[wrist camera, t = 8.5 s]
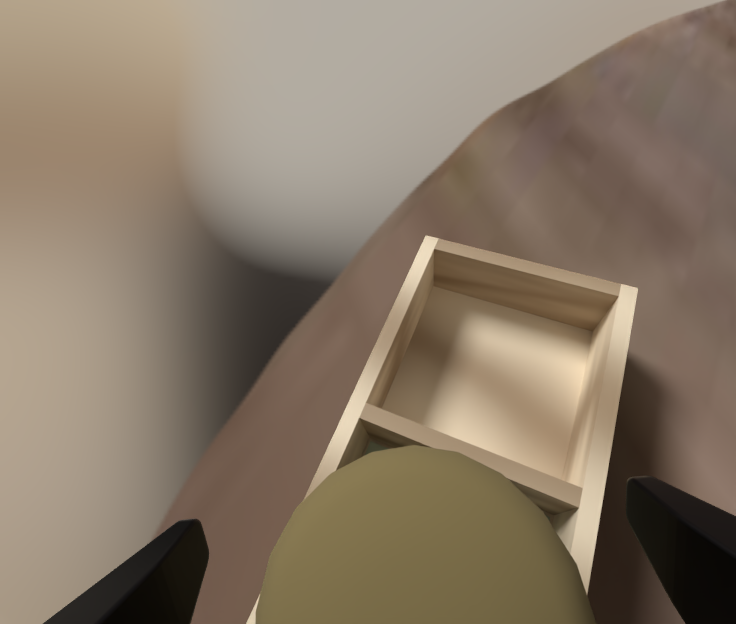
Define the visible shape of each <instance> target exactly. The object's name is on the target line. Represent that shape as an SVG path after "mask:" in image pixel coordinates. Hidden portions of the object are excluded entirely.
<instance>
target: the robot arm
mask: <svg viewBox="0 0 736 624" xmlns="http://www.w3.org/2000/svg"><path fill="white" fill-rule="evenodd" d="M626 515H627V519H628V521H629V524H630V526H631V528H632V530H633V532H634V533H635V535H636V537H637V539H638V541H639V543H640V545H641V546H642V548H643V550H644V552H645V554H646V556H647V557H648V559H649V561H650V563H651V565H652V567H653V569H654V570H655V572H656V574H657V576H658V578H659V580H660V582H661V583H662V585H663V587H664V589H665V591H666V593H667V594H668V596H669V598H670V600H671V601H672V603H673V605H674V606H675V608H676V609H677V611H678V613H679V614H680V616H681V617H682V619H683V620H684V622H685V623H686V624H736V516H734V515H732V514H730V513H728V512H726V511H724V510H721V509H719V508H717V507H715V506H713V505H711V504H709V503H707V502H705V501H703V500H701V499H698V498H696V497H694V496H692V495H690V494H688V493H686V492H684V491H682V490H680V489H678V488H675V487H673V486H671V485H669V484H667V483H665V482H663V481H661V480H659V479H657V478H654V477H652V476H636V477H630V478H629V479H628V480H627V484H626ZM208 559H209V549H208V545H207V541H206V538H205V535H204V531H203V528H202V524H201V522H200V521H199V520H198V519H187V520H180V521H178V522H176V523H175V524H174V525H172V526H171V527H170V528H169V529H167V530H166V531H165V532H163V533H162V534H161V535H159V536H158V537H157V538H155V539H154V540H153V541H151V542H150V543H149V544H147V545H146V546H145V547H144V548H142V549H141V550H140V551H138V552H137V553H136V554H134V555H133V556H132V557H130V558H129V559H128V560H126V561H125V562H124V563H122V564H121V565H120V566H118V567H117V568H116V569H114V570H113V571H112V572H110V573H109V574H108V575H106V576H105V577H104V578H102V579H101V580H100V581H99V582H97V583H96V584H95V585H93V586H92V587H91V588H89V589H88V590H87V591H85V592H84V593H83V594H81V595H80V596H79V597H77V598H76V599H75V600H73V601H72V602H71V603H69V604H68V605H67V606H65V607H64V608H63V609H62V610H60V611H59V612H58V613H56V614H55V615H54V616H52V617H51V618H50V619H48V620H47V621H46V622H44V623H43V624H190V623H191V620H192V616H193V613H194V609H195V606H196V602H197V599H198V595H199V592H200V588H201V585H202V581H203V578H204V574H205V571H206V567H207V564H208Z"/></svg>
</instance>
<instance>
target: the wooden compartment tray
mask: <svg viewBox="0 0 736 624" xmlns="http://www.w3.org/2000/svg"><path fill="white" fill-rule="evenodd" d="M637 291H638V288H635V287H631V286H627V285H623V284H619V283H615V282H611V281H607V280H603V279H599V278H595V277H591V276H587V275H583V274H579V273H575V272H571V271H567V270H563V269H559V268H555V267H551V266H546V265H542V264H538V263H534V262H530V261H526V260H522V259H518V258H514V257H510V256H506V255H502V254H498V253H494V252H490V251H486V250H482V249H478V248H474V247H470V246H466V245H462V244H458V243H454V242H450V241H446V240H442V239H438V238H434V237H430V236H425V238H424V241H423V243H422V245H421V247H420V249H419V251H418V254H417V256H416V258H415V260H414V262H413V264H412V267H411V269H410V271H409V273H408V275H407V277H406V280H405V282H404V284H403V286H402V288H401V290H400V292H399V295H398V297H397V299H396V301H395V303H394V305H393V308H392V310H391V312H390V314H389V316H388V318H387V321H386V323H385V325H384V327H383V329H382V331H381V334H380V336H379V338H378V340H377V342H376V344H375V347H374V349H373V351H372V353H371V355H370V357H369V360H368V362H367V364H366V366H365V368H364V370H363V373H362V375H361V377H360V379H359V381H358V383H357V385H356V388H355V390H354V392H353V394H352V396H351V398H350V401H349V403H348V405H347V407H346V409H345V411H344V414H343V416H342V418H341V420H340V422H339V424H338V427H337V429H336V431H335V433H334V435H333V437H332V440H331V442H330V444H329V446H328V448H327V450H326V453H325V455H324V457H323V459H322V461H321V463H320V465H319V468H318V470H317V472H316V474H315V476H314V478H313V481H312V483H311V485H310V487H309V489H308V491H307V494H306V496H305V498H304V500H305V499H306V498H307V497H308V496H309V495H310V494H311V493H312V492H313V491H314V490H315V489H316V488H317V487H318V486H319V485H320V484H321V483H322V482H323V481H324V480H325V479H326V478H327V477H328V476H329V475H330V474H331V473H333V472H334V471H336V470H338V469H340V468H342V467H344V466H346V465H348V464H350V463H352V462H354V461H355V460H357V459H359V458H361V457H363V456H365V455H367V454H369V453H371V452H375V451H381V450H387V449H393V448H399V447H405V446H411V445H417V446H424V447H430V448H436V449H442V450H449V451H455V452H459V453H461V454H463V455H465V456H467V457H469V458H471V459H473V460H475V461H477V462H479V463H481V464H483V465H485V466H487V467H489V468H491V469H494V470H496V471H498V472H500V473H502V474H503V475H504V476H505V477H506V478H507V479H508V480H509V481H510V482H511V483H513V484H514V485H515V486H516V487H517V488H518V489H519V490H520V491H521V492H522V493H523V494H525V495H526V496H527V497H528V498H529V499H530V500H531V501H532V502H533V503H534V504H535V505H537V506H538V507H539V508H540V509H541V510H542V511H543V512H544V514H545V516H546V517H547V519H548V520H549V522H550V523H551V525H552V526H553V528H554V530H555V531H556V533H557V534H558V536H559V537H560V539H561V540H562V542H563V544H564V545H565V547H566V548H567V550H568V551H569V553H570V554H571V556H572V558H573V559H574V561H575V562H576V564H577V567H578V570H579V573H580V576H581V579H582V582H583V585H584V588H585V591H586V594H587V593H588V587H589V581H590V575H591V569H592V563H593V557H594V551H595V545H596V539H597V533H598V527H599V521H600V515H601V508H602V502H603V496H604V490H605V484H606V478H607V472H608V466H609V460H610V454H611V448H612V442H613V436H614V430H615V424H616V418H617V412H618V406H619V400H620V394H621V388H622V382H623V376H624V370H625V364H626V358H627V352H628V346H629V339H630V333H631V327H632V321H633V315H634V309H635V303H636V297H637ZM304 500H303V501H304ZM259 597H260V595H259ZM259 597H258V600H257V602H256V604H255V606H254V608H253V610H252V613H251V615H250V617H249V619H248V621H247V623H246V624H256V609H257V605H258V601H259Z"/></svg>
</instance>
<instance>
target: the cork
mask: <svg viewBox="0 0 736 624" xmlns="http://www.w3.org/2000/svg"><path fill="white" fill-rule="evenodd" d="M256 624H596V621H595V618H594V615H593V612H592V609H591V606H590V603H589V600H588V597H587V594H586V591H585V588H584V585H583V582H582V579H581V576H580V573H579V570H578V567H577V564H576V562H575V561H574V559H573V558H572V556H571V554H570V553H569V551H568V550H567V548H566V547H565V545H564V544H563V542H562V540H561V539H560V537H559V536H558V534H557V533H556V531H555V530H554V528H553V526H552V525H551V523H550V522H549V520H548V519H547V517H546V516H545V514H544V512H543V511H542V510H541V509H540V508H539V507H538V506H537V505H535V504H534V503H533V502H532V501H531V500H530V499H529V498H528V497H527V496H526V495H525V494H523V493H522V492H521V491H520V490H519V489H518V488H517V487H516V486H515V485H514V484H513V483H511V482H510V481H509V480H508V479H507V478H506V477H505V476H504V475H503V474H502V473H500V472H498V471H496V470H494V469H491V468H489V467H487V466H485V465H483V464H481V463H479V462H477V461H475V460H473V459H471V458H469V457H467V456H465V455H463V454H461V453H459V452H455V451H449V450H442V449H436V448H430V447H424V446H417V445H411V446H405V447H399V448H393V449H387V450H381V451H375V452H371V453H369V454H367V455H365V456H363V457H361V458H359V459H357V460H355V461H354V462H352V463H350V464H348V465H346V466H344V467H342V468H340V469H338V470H336V471H334V472H333V473H331V474H330V475H329V476H328V477H327V478H326V479H325V480H324V481H323V482H322V483H321V484H320V485H319V486H318V487H317V488H316V489H315V490H314V491H313V492H312V493H311V494H310V495H309V496H308V497H307V498H306V499H305V500H304V501H303V502H302V503H301V504H300V505H299V506H298V507H297V508H296V509H295V511H294V513H293V515H292V516H291V518H290V520H289V522H288V524H287V525H286V527H285V529H284V531H283V533H282V534H281V536H280V538H279V540H278V542H277V543H276V545H275V547H274V549H273V551H272V552H271V554H270V558H269V562H268V566H267V570H266V573H265V577H264V581H263V585H262V589H261V593H260V597H259V601H258V605H257V609H256Z"/></svg>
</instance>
